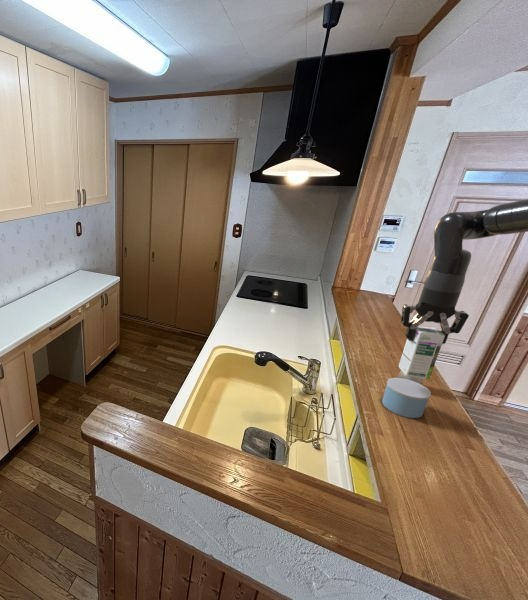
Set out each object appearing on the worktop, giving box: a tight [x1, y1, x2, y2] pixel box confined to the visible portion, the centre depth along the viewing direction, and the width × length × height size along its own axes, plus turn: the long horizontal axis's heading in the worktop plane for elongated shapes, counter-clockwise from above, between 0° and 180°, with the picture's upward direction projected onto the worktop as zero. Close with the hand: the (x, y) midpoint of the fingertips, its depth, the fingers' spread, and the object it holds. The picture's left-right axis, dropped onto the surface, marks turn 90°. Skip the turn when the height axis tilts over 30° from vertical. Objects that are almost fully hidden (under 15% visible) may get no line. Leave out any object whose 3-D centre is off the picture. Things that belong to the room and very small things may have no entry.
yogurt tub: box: [381, 377, 432, 419], centre depth 100 cm, size 10×10×8 cm
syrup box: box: [398, 325, 445, 380], centre depth 95 cm, size 6×6×14 cm
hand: (424, 341), depth 94 cm, fingers closed on syrup box, 6 cm apart
